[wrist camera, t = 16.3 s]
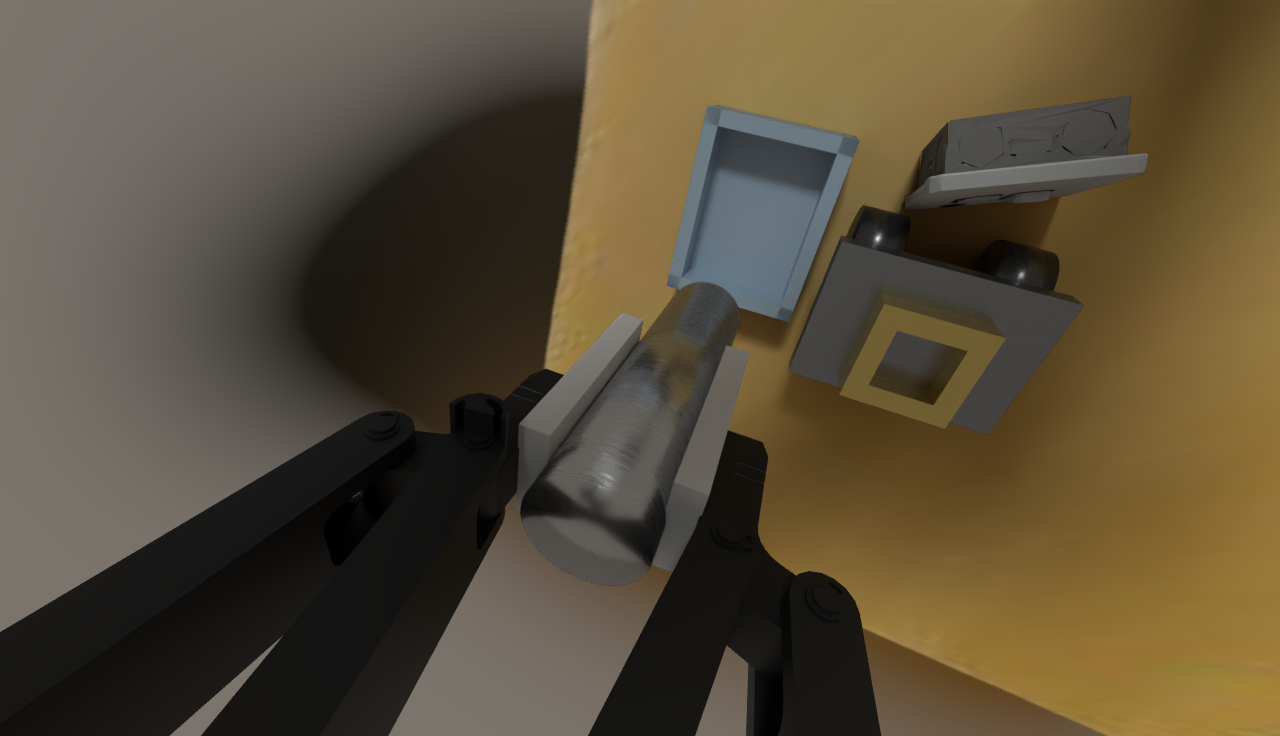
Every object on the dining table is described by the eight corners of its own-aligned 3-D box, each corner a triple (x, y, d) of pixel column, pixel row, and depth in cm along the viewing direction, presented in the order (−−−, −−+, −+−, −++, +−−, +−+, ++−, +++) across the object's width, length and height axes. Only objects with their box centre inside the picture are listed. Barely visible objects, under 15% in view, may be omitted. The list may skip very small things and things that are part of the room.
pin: (677, 272, 19) (524, 457, 9) (749, 294, 19) (668, 512, 9) (662, 337, 21) (517, 551, 11) (728, 358, 20) (639, 605, 11)
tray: (717, 105, 35) (707, 106, 32) (855, 136, 34) (859, 140, 30) (678, 270, 42) (666, 285, 39) (791, 303, 41) (788, 322, 37)
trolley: (848, 195, 36) (855, 221, 28) (1054, 246, 33) (1122, 290, 26) (786, 350, 43) (778, 403, 35) (952, 401, 40) (982, 471, 33)
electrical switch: (901, 209, 35) (926, 225, 27) (907, 130, 33) (936, 122, 25) (1062, 195, 32) (1144, 208, 24) (1078, 107, 30) (1174, 89, 22)
